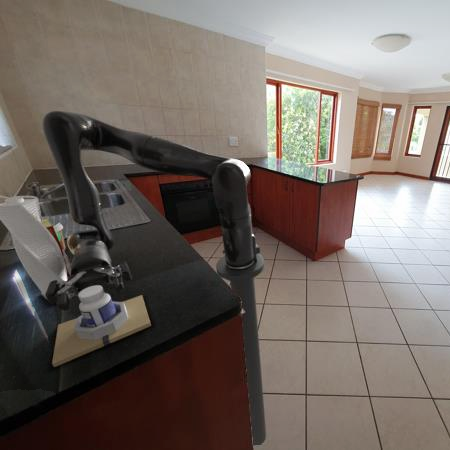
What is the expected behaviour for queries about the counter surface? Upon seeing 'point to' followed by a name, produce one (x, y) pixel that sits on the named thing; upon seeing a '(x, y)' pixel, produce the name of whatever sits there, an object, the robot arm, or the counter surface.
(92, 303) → the pill bottle
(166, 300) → the counter surface
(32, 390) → the counter surface
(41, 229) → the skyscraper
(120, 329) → the pad dock
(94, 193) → the robot arm
